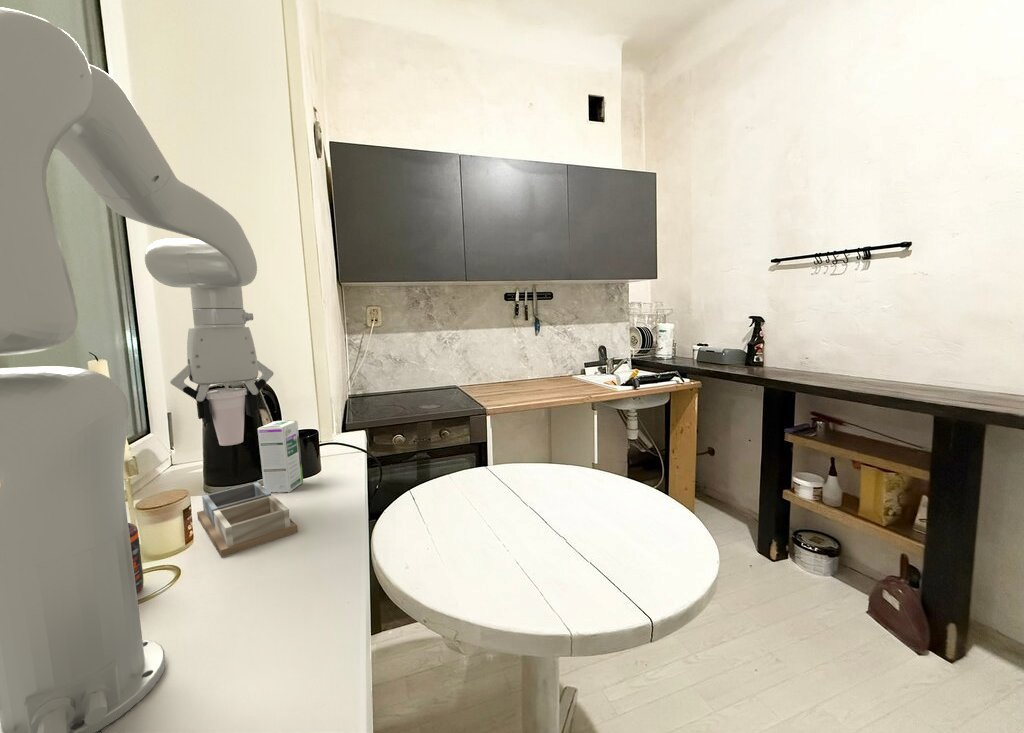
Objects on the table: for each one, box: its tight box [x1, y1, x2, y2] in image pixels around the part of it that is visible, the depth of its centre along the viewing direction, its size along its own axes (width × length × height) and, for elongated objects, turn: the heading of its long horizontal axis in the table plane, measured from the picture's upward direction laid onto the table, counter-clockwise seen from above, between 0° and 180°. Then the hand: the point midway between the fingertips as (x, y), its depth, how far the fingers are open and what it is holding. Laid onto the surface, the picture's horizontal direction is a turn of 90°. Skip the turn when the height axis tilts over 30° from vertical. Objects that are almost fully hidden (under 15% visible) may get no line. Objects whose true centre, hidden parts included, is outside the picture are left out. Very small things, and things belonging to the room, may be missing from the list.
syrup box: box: [257, 419, 304, 493], centre depth 93 cm, size 6×6×14 cm
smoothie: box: [205, 383, 247, 447], centre depth 77 cm, size 6×6×14 cm
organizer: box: [196, 481, 299, 559], centre depth 76 cm, size 20×11×4 cm, turn 45°
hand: (229, 417), depth 78 cm, fingers closed on smoothie, 6 cm apart
